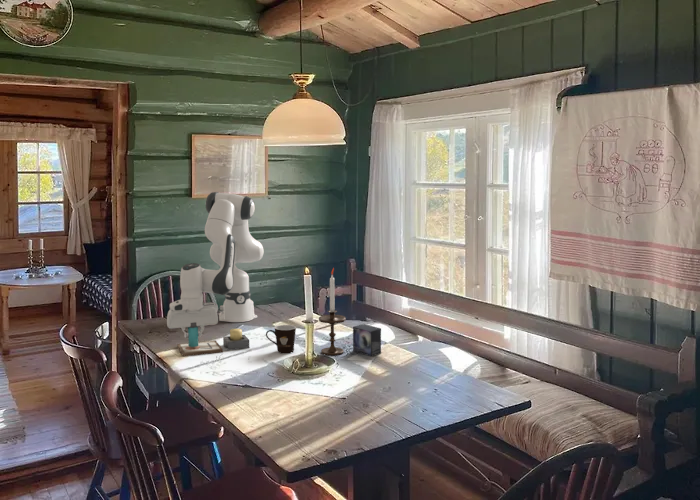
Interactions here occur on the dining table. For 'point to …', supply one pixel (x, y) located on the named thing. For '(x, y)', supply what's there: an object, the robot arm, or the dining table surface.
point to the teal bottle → (193, 335)
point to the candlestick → (332, 322)
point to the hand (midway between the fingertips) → (193, 337)
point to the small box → (367, 339)
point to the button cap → (236, 334)
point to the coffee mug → (284, 338)
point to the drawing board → (200, 348)
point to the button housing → (236, 343)
